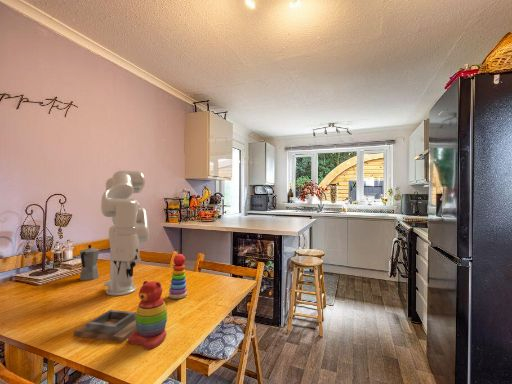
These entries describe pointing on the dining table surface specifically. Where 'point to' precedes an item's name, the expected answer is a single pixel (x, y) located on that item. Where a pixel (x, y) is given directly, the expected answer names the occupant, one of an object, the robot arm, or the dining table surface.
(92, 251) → the coffeepot
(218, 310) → the dining table surface
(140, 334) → the stacking bear
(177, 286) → the stacking toy
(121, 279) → the salt shaker
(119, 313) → the stand
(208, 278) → the dining table surface
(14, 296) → the dining table surface
